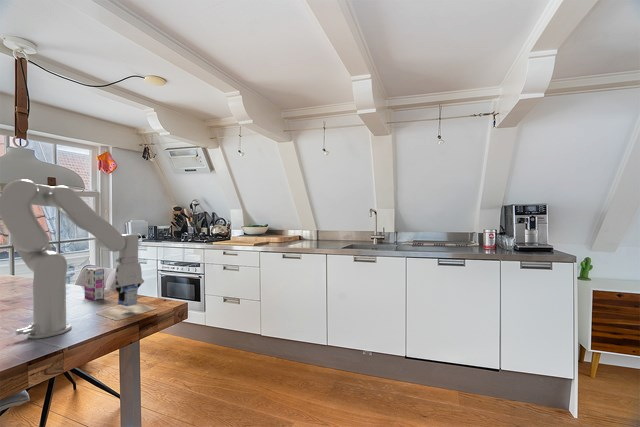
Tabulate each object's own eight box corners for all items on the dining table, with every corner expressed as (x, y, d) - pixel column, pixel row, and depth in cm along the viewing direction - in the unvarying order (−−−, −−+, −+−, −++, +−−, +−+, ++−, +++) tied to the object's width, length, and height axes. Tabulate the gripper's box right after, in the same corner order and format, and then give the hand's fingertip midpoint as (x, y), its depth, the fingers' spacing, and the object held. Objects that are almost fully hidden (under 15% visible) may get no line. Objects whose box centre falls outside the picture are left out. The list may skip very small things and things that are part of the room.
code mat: (116, 320, 128) (116, 320, 128) (96, 314, 136) (96, 313, 136) (157, 308, 143) (157, 308, 143) (136, 303, 152) (136, 302, 152)
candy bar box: (104, 298, 161) (104, 268, 161) (94, 301, 157) (93, 270, 157) (94, 295, 167) (94, 266, 167) (84, 298, 162) (83, 268, 162)
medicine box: (117, 304, 138) (118, 285, 138) (127, 301, 142) (128, 283, 142) (127, 306, 134) (128, 287, 134) (137, 304, 138) (137, 285, 138)
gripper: (112, 263, 129) (111, 305, 129) (151, 259, 144) (150, 296, 144) (104, 261, 133) (103, 302, 133) (142, 257, 148) (141, 294, 147)
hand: (127, 299), depth 138 cm, fingers closed on medicine box, 4 cm apart
